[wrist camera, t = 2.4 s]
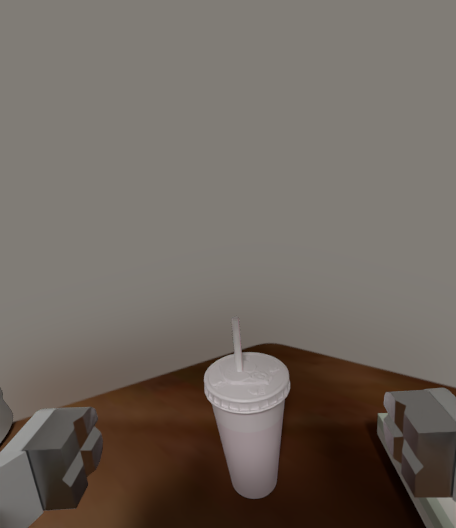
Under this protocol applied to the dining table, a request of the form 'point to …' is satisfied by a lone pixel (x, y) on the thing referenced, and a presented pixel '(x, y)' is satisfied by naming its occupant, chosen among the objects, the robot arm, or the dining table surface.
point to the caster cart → (430, 509)
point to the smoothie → (249, 414)
